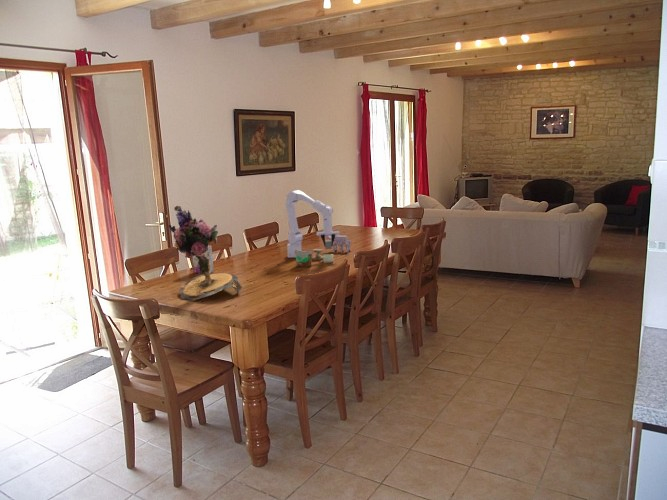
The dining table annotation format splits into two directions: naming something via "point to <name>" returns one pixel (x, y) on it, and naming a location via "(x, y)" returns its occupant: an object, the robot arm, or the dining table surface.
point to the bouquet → (199, 257)
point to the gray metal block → (328, 244)
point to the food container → (303, 258)
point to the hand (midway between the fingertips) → (328, 246)
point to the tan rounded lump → (318, 254)
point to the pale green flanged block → (328, 258)
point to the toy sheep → (340, 242)
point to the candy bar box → (207, 255)
